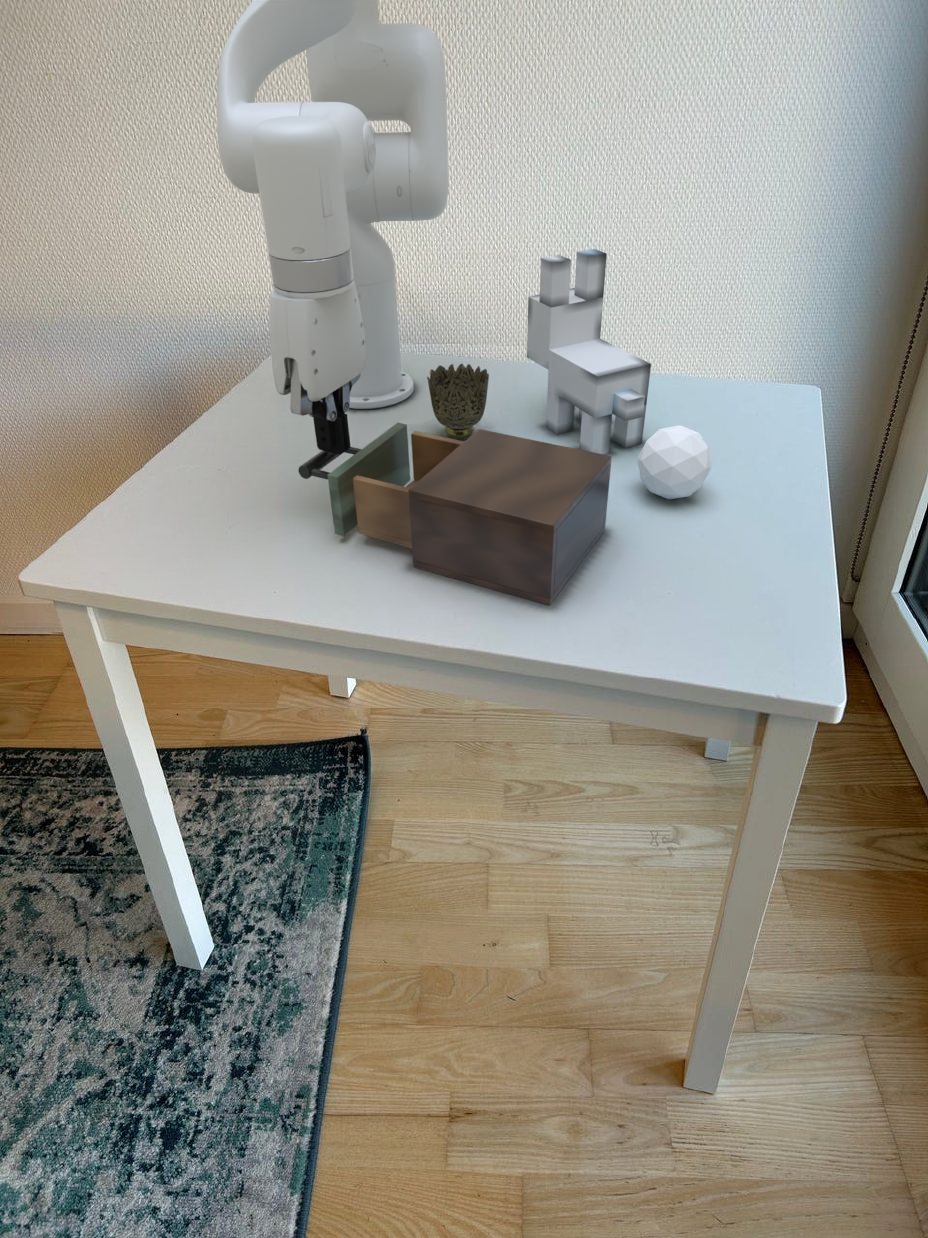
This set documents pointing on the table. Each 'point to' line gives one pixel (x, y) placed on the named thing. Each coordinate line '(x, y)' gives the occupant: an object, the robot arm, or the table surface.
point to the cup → (458, 398)
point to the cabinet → (510, 514)
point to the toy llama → (584, 356)
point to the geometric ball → (674, 462)
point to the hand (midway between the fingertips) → (334, 448)
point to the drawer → (379, 482)
